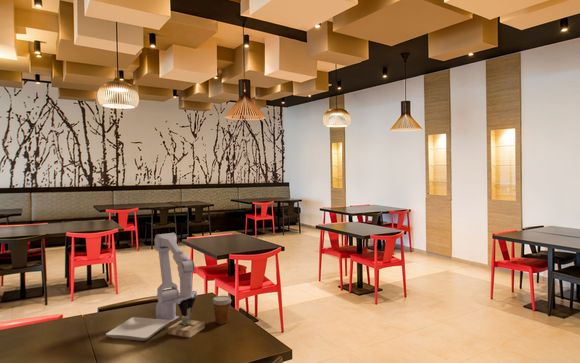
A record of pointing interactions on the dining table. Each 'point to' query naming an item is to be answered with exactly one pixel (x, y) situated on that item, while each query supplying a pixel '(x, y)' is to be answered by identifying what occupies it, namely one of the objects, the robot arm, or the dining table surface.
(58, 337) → the dining table surface
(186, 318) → the post
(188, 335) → the jack base
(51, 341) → the dining table surface
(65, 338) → the dining table surface
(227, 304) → the disposable coffee cup
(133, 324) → the salad plate
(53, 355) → the dining table surface
